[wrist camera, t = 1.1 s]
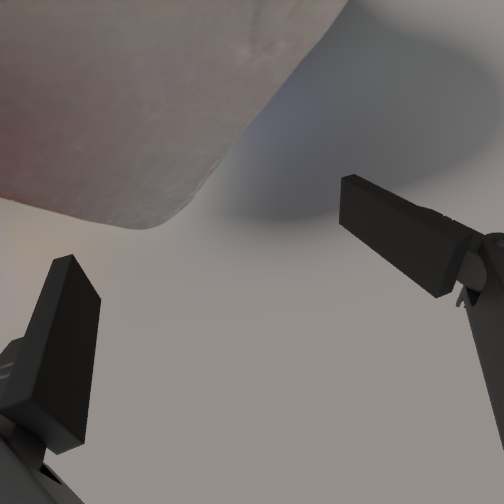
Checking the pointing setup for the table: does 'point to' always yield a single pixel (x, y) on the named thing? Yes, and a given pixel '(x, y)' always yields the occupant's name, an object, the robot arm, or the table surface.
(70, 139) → the table surface
